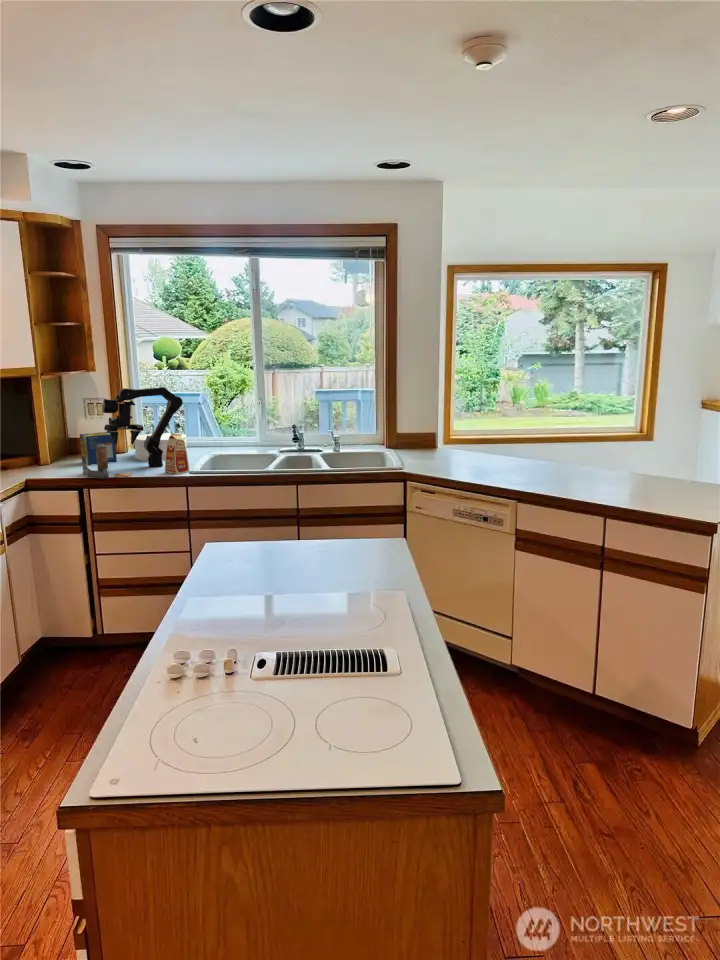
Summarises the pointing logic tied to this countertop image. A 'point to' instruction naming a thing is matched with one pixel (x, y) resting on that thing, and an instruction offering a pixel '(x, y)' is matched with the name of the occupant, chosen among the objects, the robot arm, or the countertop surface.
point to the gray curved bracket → (95, 472)
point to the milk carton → (176, 455)
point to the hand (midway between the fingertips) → (123, 444)
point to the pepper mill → (101, 457)
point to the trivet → (122, 475)
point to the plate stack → (144, 454)
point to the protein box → (90, 446)
